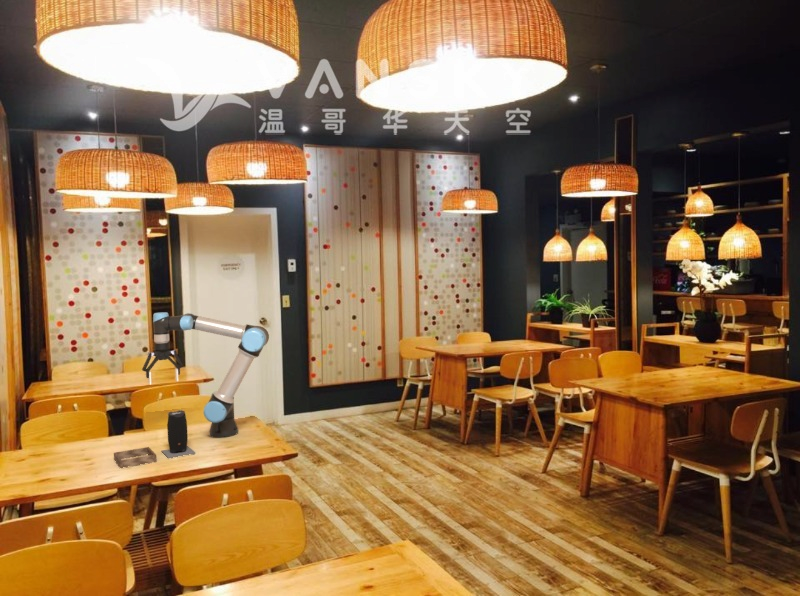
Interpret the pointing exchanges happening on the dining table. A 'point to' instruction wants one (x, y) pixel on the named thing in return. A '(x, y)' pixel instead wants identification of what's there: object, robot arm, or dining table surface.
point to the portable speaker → (177, 431)
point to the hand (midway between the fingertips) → (163, 382)
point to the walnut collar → (134, 453)
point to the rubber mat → (177, 453)
